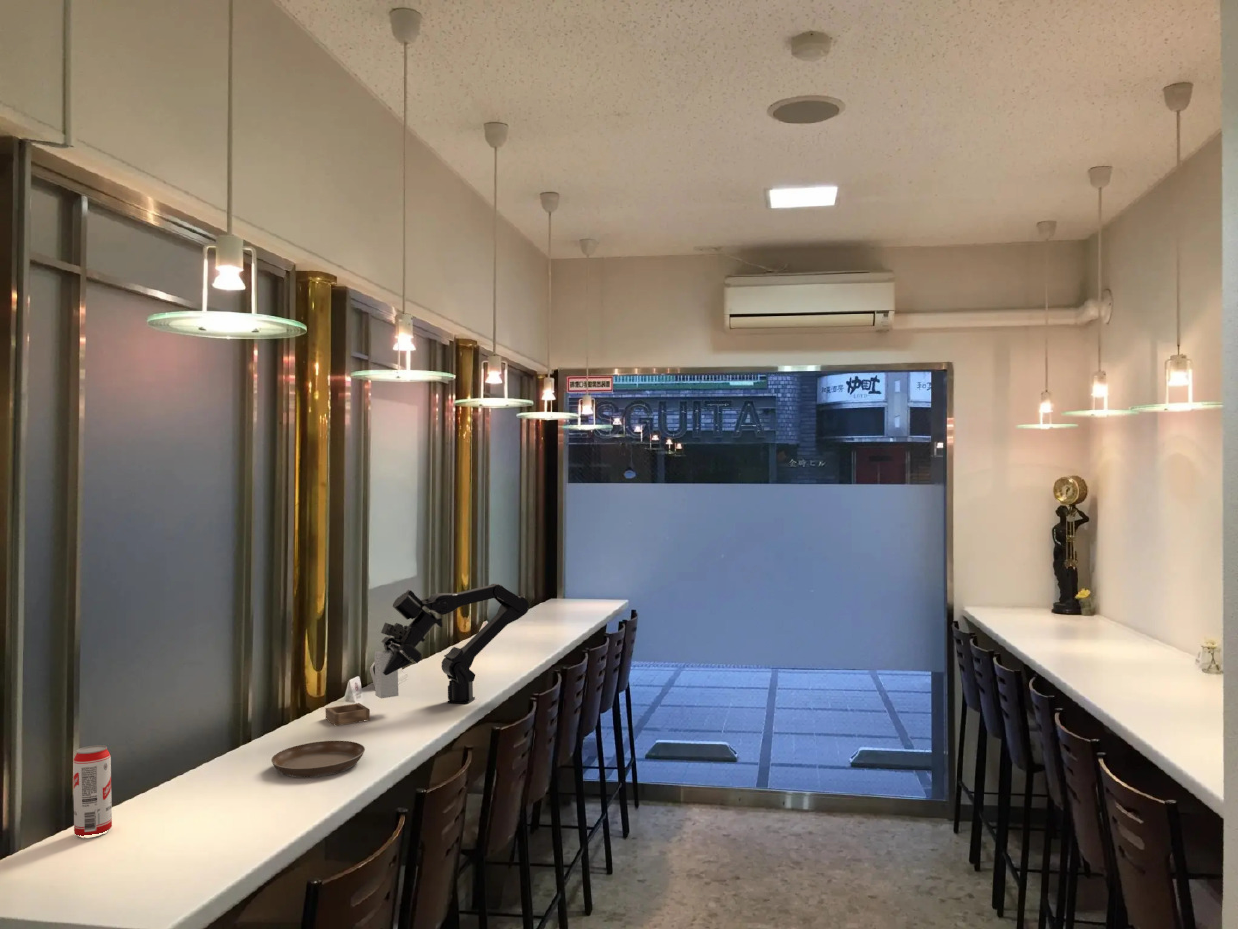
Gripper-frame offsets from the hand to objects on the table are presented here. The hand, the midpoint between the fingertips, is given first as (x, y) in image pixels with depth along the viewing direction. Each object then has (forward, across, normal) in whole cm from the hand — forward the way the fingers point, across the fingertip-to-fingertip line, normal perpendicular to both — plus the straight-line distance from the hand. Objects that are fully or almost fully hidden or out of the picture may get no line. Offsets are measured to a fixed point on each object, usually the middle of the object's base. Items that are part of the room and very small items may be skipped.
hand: (381, 673), depth 265 cm
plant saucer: (+28, +40, -12) cm, 50 cm away
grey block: (+4, 0, +6) cm, 7 cm away
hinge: (-2, -40, +19) cm, 44 cm away
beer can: (+61, +56, -45) cm, 95 cm away
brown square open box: (+15, 0, +1) cm, 15 cm away
